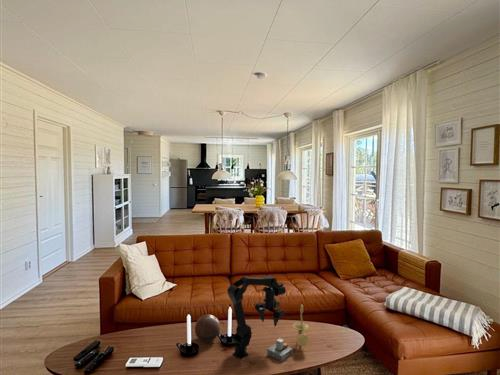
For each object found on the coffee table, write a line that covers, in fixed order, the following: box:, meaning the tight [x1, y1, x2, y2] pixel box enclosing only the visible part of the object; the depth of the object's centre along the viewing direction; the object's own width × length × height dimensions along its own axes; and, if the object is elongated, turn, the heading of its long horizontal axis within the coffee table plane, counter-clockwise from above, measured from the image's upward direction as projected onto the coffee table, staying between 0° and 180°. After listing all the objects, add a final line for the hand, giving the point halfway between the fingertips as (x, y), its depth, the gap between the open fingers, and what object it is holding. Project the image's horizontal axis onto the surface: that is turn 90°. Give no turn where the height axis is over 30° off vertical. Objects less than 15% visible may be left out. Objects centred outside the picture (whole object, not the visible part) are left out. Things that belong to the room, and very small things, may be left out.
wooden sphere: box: [194, 314, 221, 343], centre depth 186 cm, size 15×15×15 cm
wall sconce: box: [292, 304, 309, 347], centre depth 182 cm, size 14×10×25 cm
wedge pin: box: [275, 338, 285, 352], centre depth 173 cm, size 3×3×8 cm
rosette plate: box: [266, 342, 293, 362], centre depth 173 cm, size 10×10×4 cm
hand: (269, 323), depth 183 cm, fingers open, 9 cm apart
